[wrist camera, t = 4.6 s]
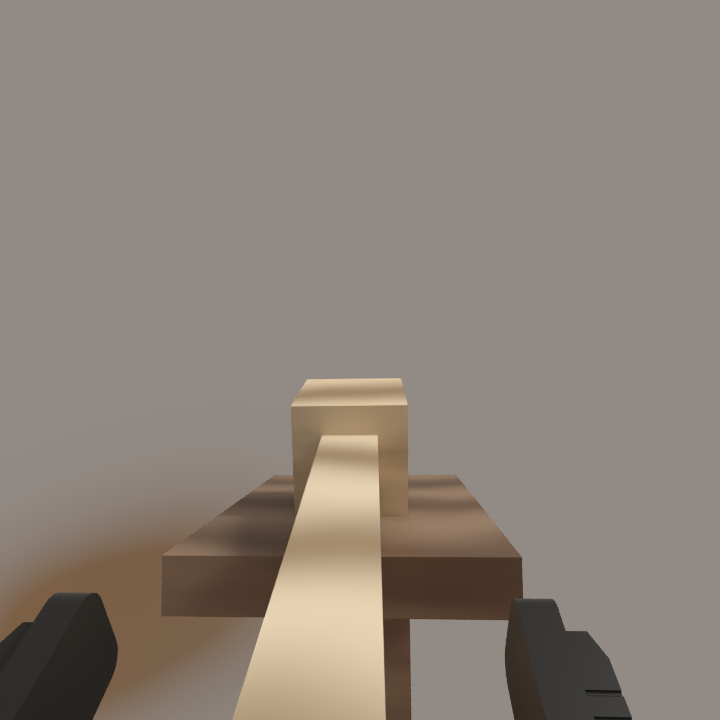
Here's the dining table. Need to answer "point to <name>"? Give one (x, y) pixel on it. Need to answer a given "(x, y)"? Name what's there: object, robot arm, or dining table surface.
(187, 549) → the stand
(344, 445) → the mallet
